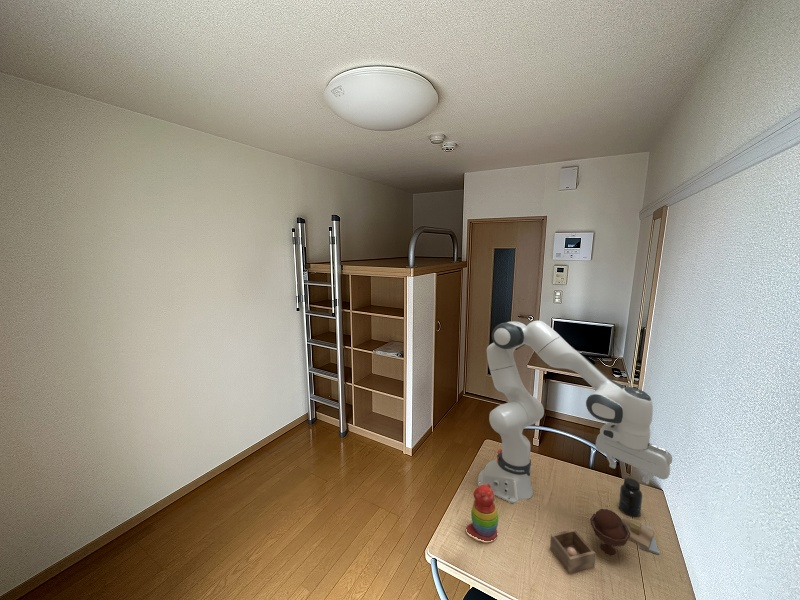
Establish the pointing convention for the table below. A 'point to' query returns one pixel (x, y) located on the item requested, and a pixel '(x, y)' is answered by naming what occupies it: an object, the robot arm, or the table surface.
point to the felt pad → (653, 545)
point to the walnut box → (574, 540)
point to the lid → (638, 532)
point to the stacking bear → (483, 514)
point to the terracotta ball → (571, 551)
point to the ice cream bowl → (609, 530)
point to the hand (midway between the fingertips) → (628, 474)
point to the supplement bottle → (630, 497)
